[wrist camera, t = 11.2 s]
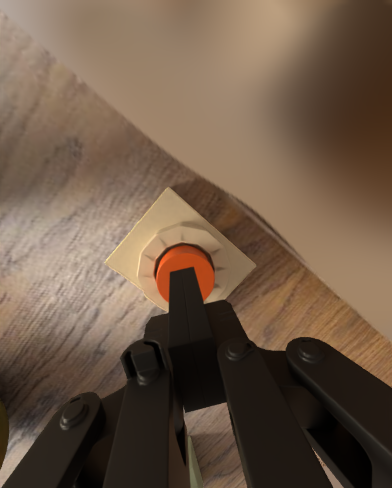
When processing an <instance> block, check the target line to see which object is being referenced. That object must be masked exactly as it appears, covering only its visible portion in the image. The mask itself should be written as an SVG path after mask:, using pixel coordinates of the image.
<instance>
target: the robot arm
mask: <svg viewBox="0 0 392 488" xmlns="http://www.w3.org/2000/svg"><path fill="white" fill-rule="evenodd" d="M120 360H121V362H122V365H123V368H124V371H125V374H126V377H127V379H128V380H127V384H126V385H125V386H124V387H122V388H121V389H119V390H118V391H116V392H114V393H112V394H110V395H108V396H107V397H105V398H103V399H100V397H99V396H98V395H97V394H96V393H93V392H86V393H81V394H79V395H77V396H75V397H73V398H71V399H70V400H69V401H68V402H66V403H65V404H64V405H63V406H62V407H61V408H60V409H59V410H58V411H57V412H56V413H55V415H54V416H53V417H52V419H51V420H50V421H49V423H48V424H47V426H46V427H45V428H44V430H43V431H42V432H41V434H40V435H39V437H38V438H37V439H36V441H35V442H34V444H33V445H32V446H31V448H30V449H29V450H28V452H27V453H26V455H25V456H24V457H23V459H22V460H21V461H20V463H19V464H18V466H17V467H16V468H15V470H14V471H13V473H12V474H11V475H10V477H9V478H8V479H7V481H6V482H5V484H4V485H3V486H2V488H191V485H190V469H189V454H188V438H187V428H186V425H185V421H184V414H183V406H184V410H185V413H187V412H191V411H194V410H198V409H202V408H206V407H210V406H213V405H217V404H221V403H225V402H227V406H228V410H229V415H230V420H231V425H232V430H233V434H234V436H235V440H236V444H237V448H238V452H239V456H240V460H241V464H242V468H243V472H244V476H245V480H246V484H247V488H333V486H332V484H331V482H330V481H329V479H328V477H327V475H326V473H325V471H324V470H323V468H322V466H321V464H320V462H319V460H318V458H317V456H316V455H315V453H314V451H313V449H314V450H315V452H316V453H317V454H318V455H319V457H320V458H321V459H322V460H323V462H324V463H325V464H326V466H327V467H328V468H329V469H330V471H331V472H332V473H333V474H334V476H335V477H336V478H337V480H338V481H339V482H340V483H341V485H342V486H343V487H344V488H392V388H391V387H390V386H388V385H387V384H385V383H384V382H382V381H381V380H380V379H378V378H377V377H375V376H374V375H372V374H371V373H369V372H368V371H366V370H365V369H363V368H362V367H361V366H359V365H358V364H356V363H355V362H353V361H352V360H350V359H349V358H347V357H346V356H344V355H343V354H341V353H340V352H339V351H337V350H336V349H334V348H333V347H331V346H330V345H328V344H327V343H325V342H323V341H321V340H319V339H315V338H311V337H300V338H296V339H293V340H292V341H291V342H289V343H288V345H287V347H286V351H272V350H265V349H262V348H259V347H257V346H256V345H255V343H254V342H252V341H250V340H249V339H248V337H247V335H246V333H245V331H244V329H243V327H242V325H241V323H240V321H239V319H238V317H237V315H236V313H235V311H234V310H233V308H232V306H231V304H230V303H229V302H227V301H225V300H224V299H223V300H218V301H214V302H210V303H206V304H204V301H203V297H202V294H201V290H200V287H199V283H198V280H197V276H196V273H195V269H194V267H189V268H185V269H181V270H176V271H172V272H170V280H169V312H168V313H167V314H162V315H158V316H154V317H151V319H150V320H149V321H148V323H147V324H146V327H145V334H144V338H143V339H141V340H138V341H136V342H134V343H133V344H131V345H130V346H129V347H128V348H127V349H126V350H125V351H124V352H123V353H122V355H121V357H120ZM312 448H313V449H312Z"/></svg>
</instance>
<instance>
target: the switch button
mask: <svg viewBox="0 0 392 488" xmlns="http://www.w3.org/2000/svg"><path fill="white" fill-rule="evenodd" d="M189 267H194V269H195V273H196V276H197V280H198V283H199V287H200V290H201V294H202V297H203V301H204V300H205V299H206V298H207V297H208V296H209V295H210V293H211V292H212V290H213V287H214V283H215V275H214V271H213V269H212V267H211V265H210V263H209V261H208V259H207V257H206V256H205V254H204V253H203V252H202V251H200V250H199V249H197V248H195V247H192V246H178V247H175V248H172V249H171V250H169V251H168V252H167V253H166V254H165V255H164V256H163V257H162V259H161V260H160V263H159V267H158V272H157V278H156V284H157V289H158V291H159V293H160V295H161V296H162V298H163V299H164V300H166V301H167V302H168V303H169V280H170V272H172V271H176V270H181V269H185V268H189Z"/></svg>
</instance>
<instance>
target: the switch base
mask: <svg viewBox="0 0 392 488" xmlns="http://www.w3.org/2000/svg"><path fill="white" fill-rule="evenodd" d="M178 246H192V247H195V248H197V249H199V250H200V251H202V252H203V253H204V254H205V256H206V257H207V259H208V261H209V263H210V265H211V267H212V269H213V271H214V275H215V283H214V287H213V290H212V292H211V293H210V295H209V296H208V297H207V298H206V299H205V300H204V304H206V303H210V302H214V301H218V300H223V299H224V300H225V299H226V297H227V296H228V295H229V294H230V293H231V292H232V291H233V290H234V289H235V288H236V287H237V286H238V285H239V284H240V283H241V282H242V281H243V280H244V278H245V277H246V276H247V275H248V274H249V273H250V272H251V271H252V270H253V269H254V268H255V267H256V266H257V265H256V264H255V263H254V262H253V261H252V260H250V259H249V258H248V257H247V256H246V255H245V254H244V253H243V252H241V251H240V250H239V249H238V248H237V247H236V246H235V245H234V244H232V243H231V242H230V241H229V240H228V239H227V238H226V237H225V236H224V235H222V234H221V233H220V232H219V231H218V230H217V229H216V228H215V227H213V226H212V225H211V224H210V223H209V222H208V221H207V220H206V219H204V218H203V217H202V216H201V215H200V214H199V213H198V212H197V211H195V210H194V209H193V208H192V207H191V206H190V205H189V204H188V203H187V202H185V201H184V200H183V199H182V198H181V197H180V196H179V195H178V194H176V193H175V192H174V191H173V190H172V189H171V188H170V187H167V188H166V190H165V191H164V192H163V193H162V194H161V196H160V197H159V198H158V199H157V200H156V201H155V203H154V204H153V205H152V206H151V207H150V209H149V210H148V211H147V212H146V213H145V215H144V216H143V217H142V218H141V219H140V221H139V222H138V223H137V224H136V225H135V227H134V228H133V229H132V230H131V231H130V232H129V234H128V235H127V236H126V237H125V238H124V240H123V241H122V242H121V243H120V244H119V246H118V247H117V248H116V249H115V250H114V252H113V253H112V254H111V255H110V256H109V258H108V259H107V260H106V261H105V264H106V265H108V266H109V267H110V268H112V269H113V270H115V271H116V272H117V273H119V274H120V275H122V276H123V277H124V278H126V279H127V280H128V281H130V282H131V283H133V284H134V285H135V286H137V287H138V288H140V289H141V290H142V291H143V292H144V294H145V297H146V298H147V299H149V300H150V301H152V302H153V303H154V304H156V305H157V306H159V307H160V308H161V309H163V310H164V311H168V312H169V303H168V302H167V301H166V300H164V299H163V298H162V296H161V295H160V293H159V291H158V289H157V284H156V278H157V272H158V267H159V263H160V260H161V259H162V257H163V256H164V255H165V254H166V253H167V252H168V251H169V250H171V249H172V248H175V247H178Z"/></svg>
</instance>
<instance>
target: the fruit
mask: <svg viewBox="0 0 392 488" xmlns="http://www.w3.org/2000/svg"><path fill="white" fill-rule="evenodd" d="M8 439H9V421H8V415H7V412H6V409H5V406H4V404H3V402H2V400H1V399H0V469H1V467H2V464H3V461H4V458H5V455H6V451H7V446H8Z"/></svg>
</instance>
